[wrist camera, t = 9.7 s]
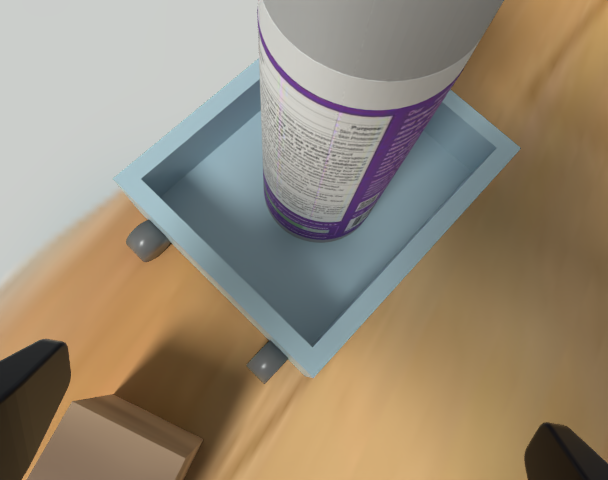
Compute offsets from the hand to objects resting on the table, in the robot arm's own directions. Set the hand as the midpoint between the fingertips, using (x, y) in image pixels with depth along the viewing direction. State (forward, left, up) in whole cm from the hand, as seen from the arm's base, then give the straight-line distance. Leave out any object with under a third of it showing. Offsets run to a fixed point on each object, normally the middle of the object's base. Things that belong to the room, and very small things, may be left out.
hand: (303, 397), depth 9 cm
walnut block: (-6, +2, -11) cm, 13 cm away
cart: (+7, +5, -11) cm, 13 cm away
